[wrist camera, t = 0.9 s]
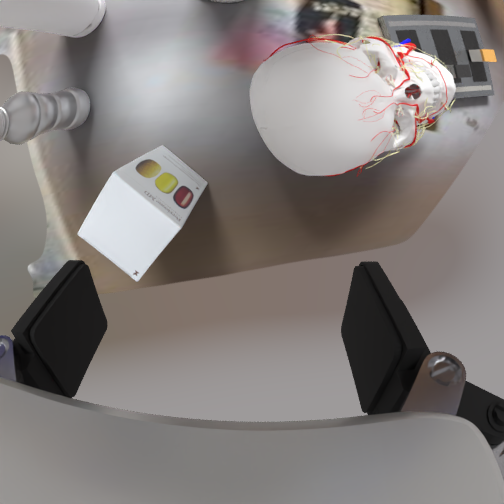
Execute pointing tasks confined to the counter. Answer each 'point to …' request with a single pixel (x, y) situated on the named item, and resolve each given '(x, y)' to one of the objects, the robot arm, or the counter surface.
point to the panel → (444, 47)
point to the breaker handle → (482, 55)
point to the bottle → (53, 15)
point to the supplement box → (142, 210)
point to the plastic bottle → (42, 113)
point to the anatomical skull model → (346, 101)
